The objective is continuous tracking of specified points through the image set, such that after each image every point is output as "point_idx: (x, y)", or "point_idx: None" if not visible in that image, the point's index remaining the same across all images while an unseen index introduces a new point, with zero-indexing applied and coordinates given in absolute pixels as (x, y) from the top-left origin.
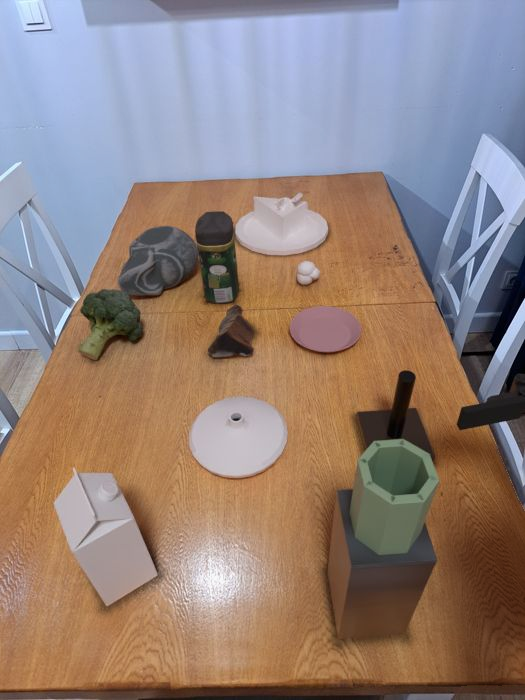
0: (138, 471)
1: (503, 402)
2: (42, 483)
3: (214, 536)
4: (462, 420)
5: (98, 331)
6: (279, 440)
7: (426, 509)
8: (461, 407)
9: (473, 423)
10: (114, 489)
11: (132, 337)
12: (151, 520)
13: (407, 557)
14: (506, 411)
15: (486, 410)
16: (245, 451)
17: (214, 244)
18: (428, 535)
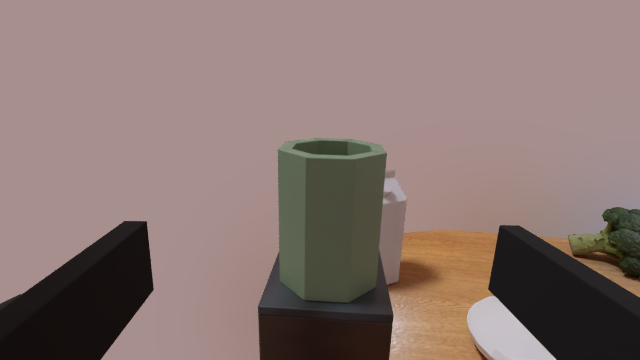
0: (458, 281)
1: (606, 286)
2: (431, 242)
3: (402, 326)
4: (496, 255)
5: (598, 236)
6: None
7: (293, 208)
8: (518, 226)
9: (512, 293)
10: (385, 189)
11: (622, 263)
12: (411, 289)
13: (274, 281)
14: (598, 334)
15: (540, 261)
16: (503, 330)
17: None
18: (297, 307)
